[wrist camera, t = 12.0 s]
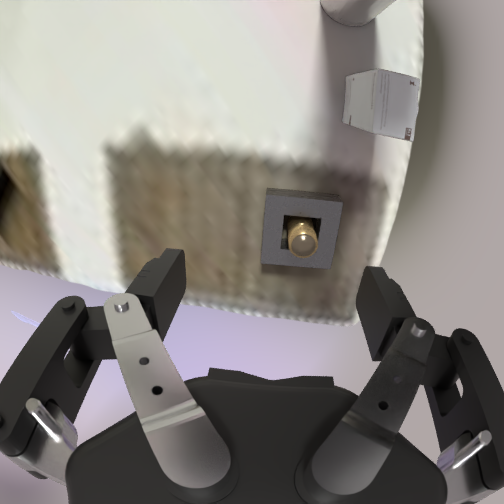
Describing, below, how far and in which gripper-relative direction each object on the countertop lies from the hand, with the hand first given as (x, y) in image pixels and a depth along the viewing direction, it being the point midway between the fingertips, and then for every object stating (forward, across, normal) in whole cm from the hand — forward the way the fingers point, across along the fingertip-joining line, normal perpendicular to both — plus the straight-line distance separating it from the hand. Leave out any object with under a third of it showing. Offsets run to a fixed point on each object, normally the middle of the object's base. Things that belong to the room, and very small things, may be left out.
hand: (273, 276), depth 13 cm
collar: (+36, -5, +12) cm, 38 cm away
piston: (+36, -5, +12) cm, 38 cm away
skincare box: (+36, -13, -10) cm, 40 cm away
